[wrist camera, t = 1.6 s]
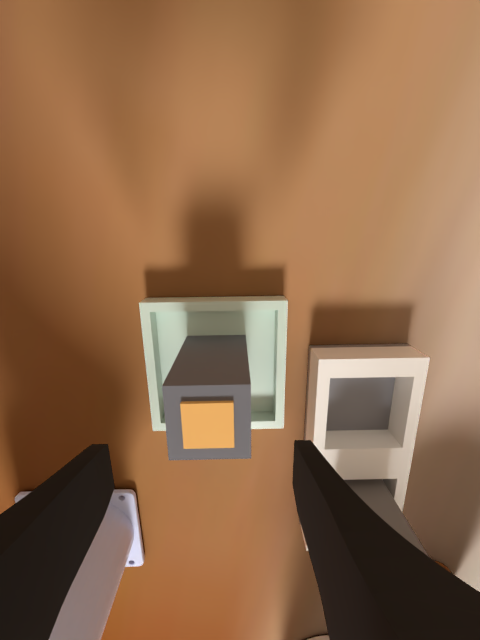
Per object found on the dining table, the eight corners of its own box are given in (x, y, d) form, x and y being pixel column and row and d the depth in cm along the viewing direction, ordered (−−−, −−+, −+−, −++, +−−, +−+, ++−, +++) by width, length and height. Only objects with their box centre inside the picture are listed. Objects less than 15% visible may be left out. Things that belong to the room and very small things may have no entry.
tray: (158, 417, 22) (152, 430, 20) (146, 297, 19) (138, 302, 18) (280, 414, 22) (283, 428, 20) (283, 295, 20) (287, 300, 18)
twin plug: (319, 507, 24) (354, 617, 17) (323, 466, 23) (361, 566, 16) (368, 505, 24) (422, 615, 17) (373, 465, 23) (434, 565, 16)
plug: (190, 388, 21) (168, 463, 14) (186, 335, 20) (160, 388, 13) (245, 387, 21) (251, 461, 14) (245, 334, 20) (251, 386, 13)
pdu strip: (299, 520, 25) (306, 550, 22) (309, 345, 20) (318, 359, 18) (380, 518, 25) (396, 548, 22) (407, 343, 21) (430, 357, 18)
